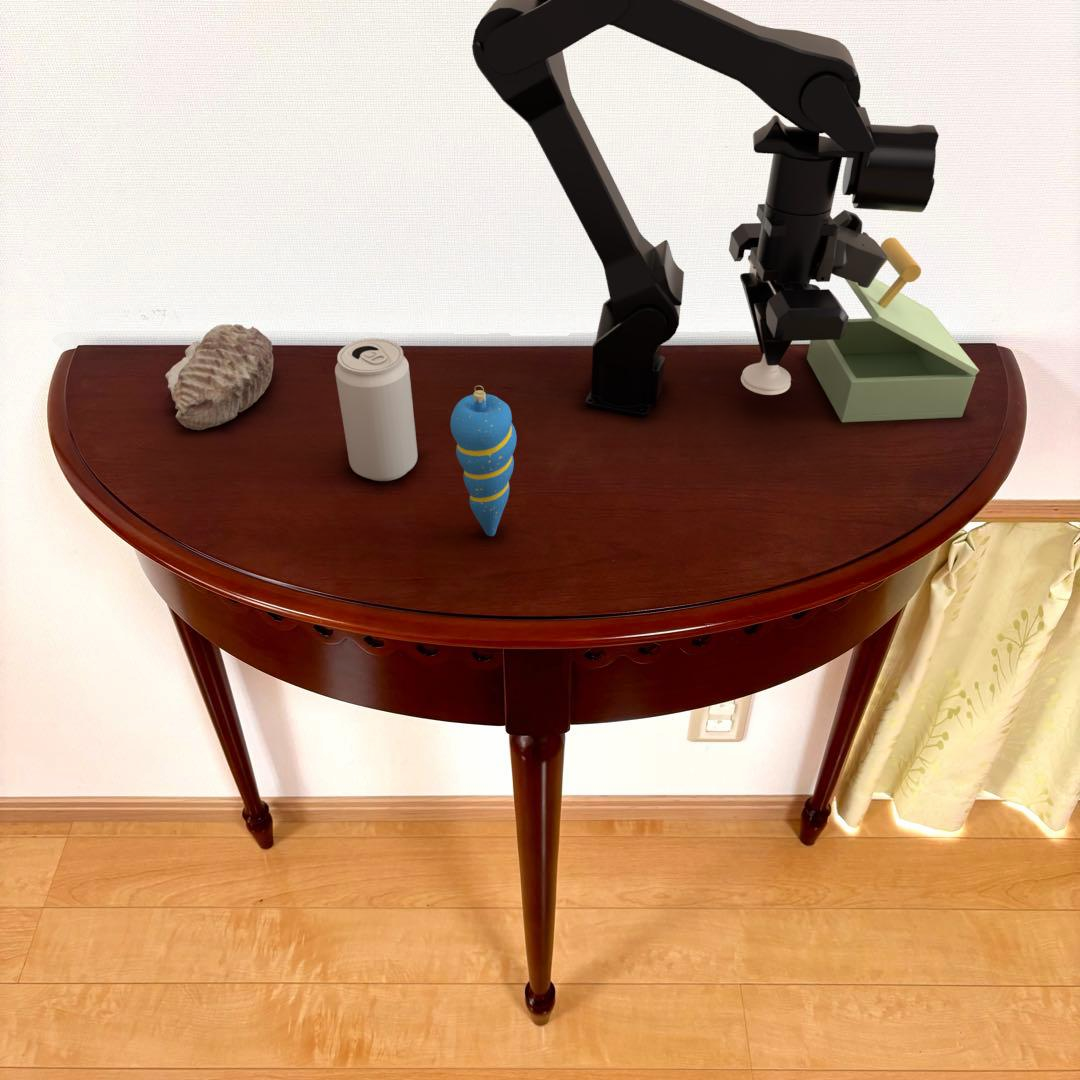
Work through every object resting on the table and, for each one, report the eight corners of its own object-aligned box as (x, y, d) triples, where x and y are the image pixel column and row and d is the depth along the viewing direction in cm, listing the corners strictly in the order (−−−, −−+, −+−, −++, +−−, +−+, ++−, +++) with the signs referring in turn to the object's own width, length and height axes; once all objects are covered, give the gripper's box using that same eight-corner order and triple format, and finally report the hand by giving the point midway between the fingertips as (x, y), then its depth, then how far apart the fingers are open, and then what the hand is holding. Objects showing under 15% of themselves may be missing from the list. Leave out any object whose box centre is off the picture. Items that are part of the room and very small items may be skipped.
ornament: (510, 558, 81) (506, 408, 71) (451, 550, 81) (439, 400, 72) (523, 519, 85) (521, 372, 75) (467, 512, 85) (457, 365, 75)
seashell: (189, 333, 103) (213, 269, 96) (271, 373, 107) (301, 314, 100) (139, 429, 95) (161, 366, 87) (230, 468, 98) (259, 411, 91)
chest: (841, 422, 96) (851, 382, 93) (806, 358, 105) (814, 320, 102) (962, 417, 97) (975, 377, 94) (916, 354, 106) (927, 315, 103)
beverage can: (390, 437, 94) (377, 327, 86) (432, 465, 90) (422, 353, 83) (336, 464, 91) (317, 353, 83) (378, 495, 87) (362, 381, 79)
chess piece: (797, 377, 97) (817, 286, 90) (779, 400, 93) (798, 307, 87) (752, 363, 98) (768, 273, 92) (732, 385, 95) (748, 293, 89)
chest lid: (874, 321, 89) (915, 271, 86) (833, 262, 98) (869, 215, 95) (974, 376, 93) (1017, 331, 90) (926, 315, 103) (963, 272, 100)
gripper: (928, 246, 77) (882, 408, 88) (854, 162, 91) (821, 311, 102) (793, 249, 77) (762, 413, 87) (739, 164, 91) (718, 314, 101)
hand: (769, 359), depth 94 cm, fingers closed on chess piece
